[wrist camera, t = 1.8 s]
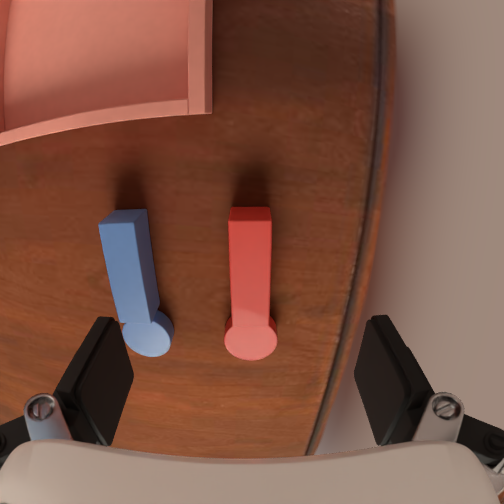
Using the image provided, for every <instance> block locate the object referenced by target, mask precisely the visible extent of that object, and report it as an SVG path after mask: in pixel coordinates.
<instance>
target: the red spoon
mask: <svg viewBox="0 0 504 504" xmlns="http://www.w3.org/2000/svg"><path fill="white" fill-rule="evenodd" d="M228 236H229V265H230V291H231V314H232V316H231V317H230V318H229V319H228V321H227V323H226V326H225V334H224V344H225V347H226V348H227V350H228V351H229V352H230V353H231V354H232V355H234V356H235V357H237V358H240V359H243V360H258V359H262V358H264V357H266V356H268V355H269V354H271V353H272V352H273V351H274V349H275V348H276V345H277V341H278V339H277V329H276V324H275V322H274V320H273V319H272V317H271V316H270V287H271V250H272V218H271V213H270V208H269V207H231V209H230V214H229V219H228Z"/></svg>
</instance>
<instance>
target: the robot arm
mask: <svg viewBox="0 0 504 504" xmlns="http://www.w3.org/2000/svg"><path fill="white" fill-rule="evenodd" d="M354 377H355V381H356V384H357V387H358V390H359V393H360V396H361V399H362V402H363V404H364V407H365V410H366V413H367V416H368V419H369V422H370V425H371V429H372V431H373V435H374V438H375V441H376V443H377V445H378V446H379V445H381V446H380V447H374V448H368V449H361V450H354V451H347V452H339V453H332V454H323V455H312V456H300V457H285V458H260V459H226V458H201V457H186V456H174V455H163V454H155V453H147V452H139V451H133V450H126V449H119V448H113V447H107V446H110V445H111V444H112V442H113V438H114V435H115V432H116V429H117V426H118V423H119V420H120V417H121V414H122V411H123V408H124V405H125V402H126V399H127V396H128V393H129V390H130V388H131V385H132V382H133V378H134V373H133V369H132V366H131V363H130V360H129V356H128V353H127V350H126V346H125V343H124V340H123V336H122V332H121V329H120V325H119V323H118V322H117V321H115V319H114V318H113V317H101V316H100V317H98V318H97V320H96V321H95V323H94V324H93V326H92V328H91V329H90V331H89V333H88V334H87V336H86V338H85V339H84V341H83V343H82V344H81V346H80V348H79V349H78V351H77V352H76V354H75V355H74V357H73V359H72V361H71V362H70V364H69V366H68V368H67V369H66V371H65V373H64V375H63V376H62V378H61V380H60V382H59V384H58V386H57V387H56V389H55V391H54V393H53V395H51V394H48V393H40V394H36V395H34V396H32V397H31V398H30V399H29V400H28V401H27V402H26V404H25V406H24V415H23V416H21V417H19V418H16V419H14V420H12V421H9V422H7V423H5V424H2V425H0V504H504V431H503V430H502V429H500V428H497V427H495V426H492V425H490V424H487V423H485V422H482V421H479V420H477V419H475V418H472V417H470V416H468V415H465V414H464V405H463V403H462V402H461V400H460V399H459V398H458V397H457V396H455V395H453V394H451V393H447V392H439V393H436V394H435V393H434V391H433V389H432V387H431V385H430V384H429V382H428V380H427V378H426V377H425V375H424V373H423V371H422V369H421V367H420V366H419V364H418V362H417V360H416V359H415V357H414V355H413V354H412V352H411V350H410V349H409V348H408V347H407V346H406V345H405V343H404V341H403V340H402V338H401V336H400V335H399V333H398V331H397V330H396V328H395V326H394V325H393V323H392V321H391V320H390V318H389V317H388V316H387V315H376V316H372V318H371V320H368V321H367V323H366V327H365V332H364V335H363V340H362V344H361V348H360V352H359V355H358V359H357V363H356V367H355V370H354Z"/></svg>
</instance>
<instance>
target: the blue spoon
mask: <svg viewBox="0 0 504 504" xmlns="http://www.w3.org/2000/svg"><path fill="white" fill-rule="evenodd" d="M99 231H100V236H101V242H102V247H103V252H104V257H105V262H106V267H107V272H108V276H109V281H110V285H111V289H112V294H113V298H114V302H115V306H116V310H117V313H118V317H119V321H120V322H122V323H125V324H124V326H123V330H122V333H123V338H124V340H125V342H126V343H127V345H128V346H129V347H130V348H131V349H132V350H134V351H135V352H137V353H139V354H141V355H144V356H149V357H156V356H160V355H163V354H164V353H166V352H167V351H168V350H169V348H170V345H171V342H172V339H173V335H174V328H173V325H172V323H171V321H170V319H169V318H168V317H167V316H166V315H165V314H163V313H162V312H160V311H159V310H157V309H158V307H159V304H160V300H159V294H158V288H157V282H156V275H155V269H154V262H153V255H152V248H151V240H150V232H149V224H148V215H147V209H132V210H114V211H113V212H112V213H111V214H109V215H108V216H107V217H106V218H105V219H103V220H102V221H101V222H100V223H99Z"/></svg>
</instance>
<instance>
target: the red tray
mask: <svg viewBox="0 0 504 504" xmlns="http://www.w3.org/2000/svg"><path fill="white" fill-rule="evenodd" d="M212 9H213V0H0V146H2V145H6V144H9V143H13V142H17V141H21V140H25V139H29V138H33V137H37V136H42V135H46V134H51V133H56V132H61V131H66V130H71V129H76V128H82V127H87V126H93V125H100V124H106V123H113V122H120V121H128V120H136V119H145V118H155V117H166V116H179V115H194V114H211V113H212Z"/></svg>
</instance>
